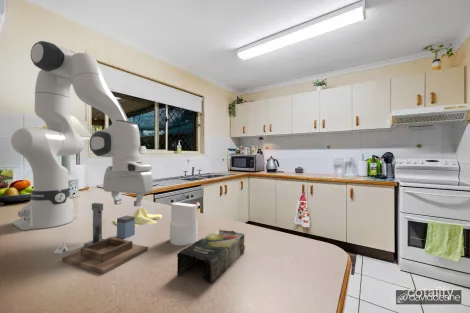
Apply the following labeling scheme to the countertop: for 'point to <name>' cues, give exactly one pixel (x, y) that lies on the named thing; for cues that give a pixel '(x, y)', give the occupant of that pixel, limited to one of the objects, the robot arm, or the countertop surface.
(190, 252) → the juice carton
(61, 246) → the white irregular angular piece
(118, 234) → the grey banded block
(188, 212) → the cylinder with rectangular tab
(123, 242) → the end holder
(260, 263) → the countertop surface
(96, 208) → the post
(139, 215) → the cloth
